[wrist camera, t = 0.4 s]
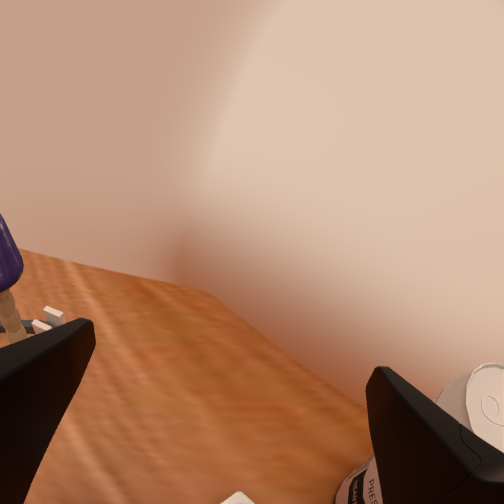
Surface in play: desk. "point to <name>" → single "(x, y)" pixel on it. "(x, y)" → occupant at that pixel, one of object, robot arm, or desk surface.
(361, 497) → the supplement can
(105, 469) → the desk surface
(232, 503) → the lighter
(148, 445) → the desk surface
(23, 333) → the toy lamp
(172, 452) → the desk surface
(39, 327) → the clip
